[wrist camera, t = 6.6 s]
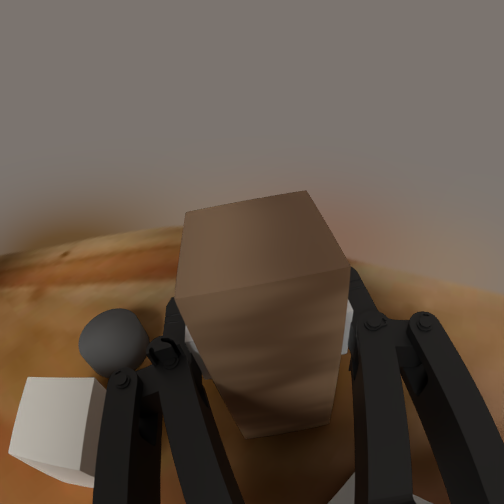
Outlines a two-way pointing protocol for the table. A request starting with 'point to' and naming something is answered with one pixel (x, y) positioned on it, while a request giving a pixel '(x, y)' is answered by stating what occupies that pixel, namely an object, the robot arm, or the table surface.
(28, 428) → the cream cube
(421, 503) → the grey pad
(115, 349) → the dark grey pebble
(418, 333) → the robot arm
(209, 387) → the table surface
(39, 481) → the table surface
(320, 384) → the walnut block
